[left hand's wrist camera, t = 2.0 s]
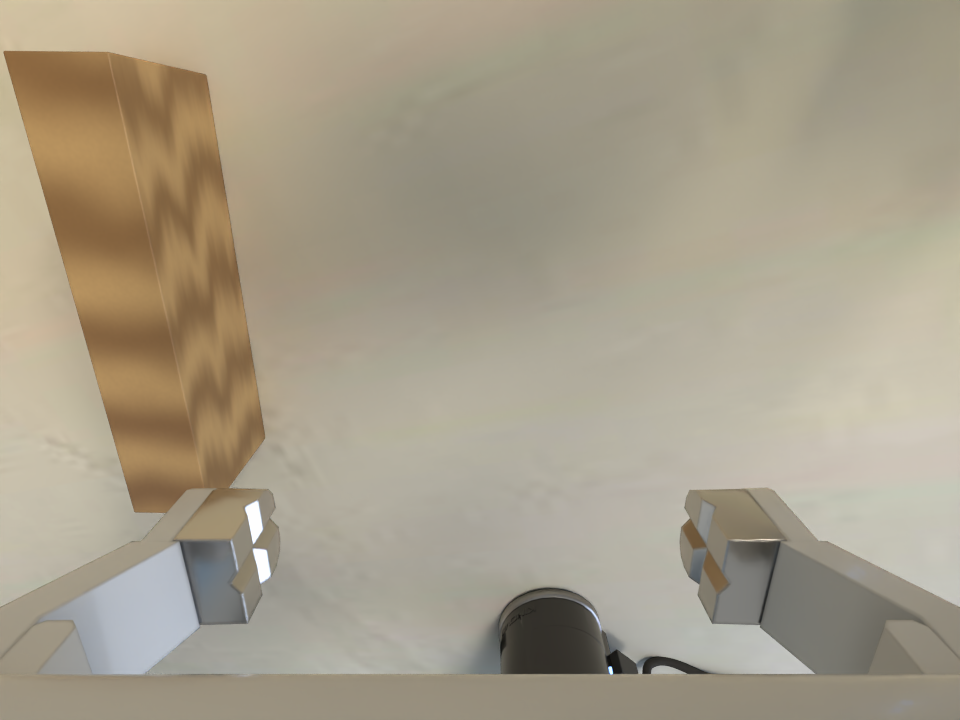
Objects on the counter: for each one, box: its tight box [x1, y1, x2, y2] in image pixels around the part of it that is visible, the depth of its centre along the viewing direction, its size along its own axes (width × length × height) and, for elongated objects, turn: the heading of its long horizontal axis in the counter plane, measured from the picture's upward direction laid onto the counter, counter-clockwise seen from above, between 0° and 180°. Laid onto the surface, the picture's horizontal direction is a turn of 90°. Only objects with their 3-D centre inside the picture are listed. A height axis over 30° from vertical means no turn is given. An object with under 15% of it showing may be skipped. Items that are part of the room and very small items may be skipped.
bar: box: [4, 51, 265, 513], centre depth 34 cm, size 26×5×9 cm, turn 179°
